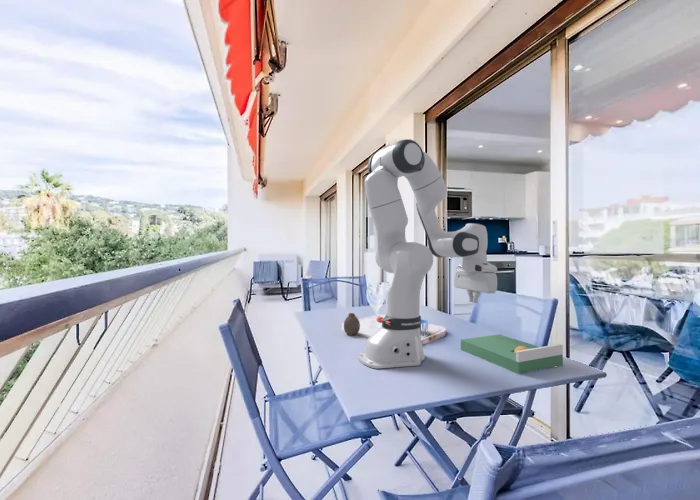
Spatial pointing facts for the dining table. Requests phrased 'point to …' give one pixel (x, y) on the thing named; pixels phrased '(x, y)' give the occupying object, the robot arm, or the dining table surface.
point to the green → (520, 362)
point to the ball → (520, 348)
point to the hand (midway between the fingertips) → (473, 302)
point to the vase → (351, 324)
